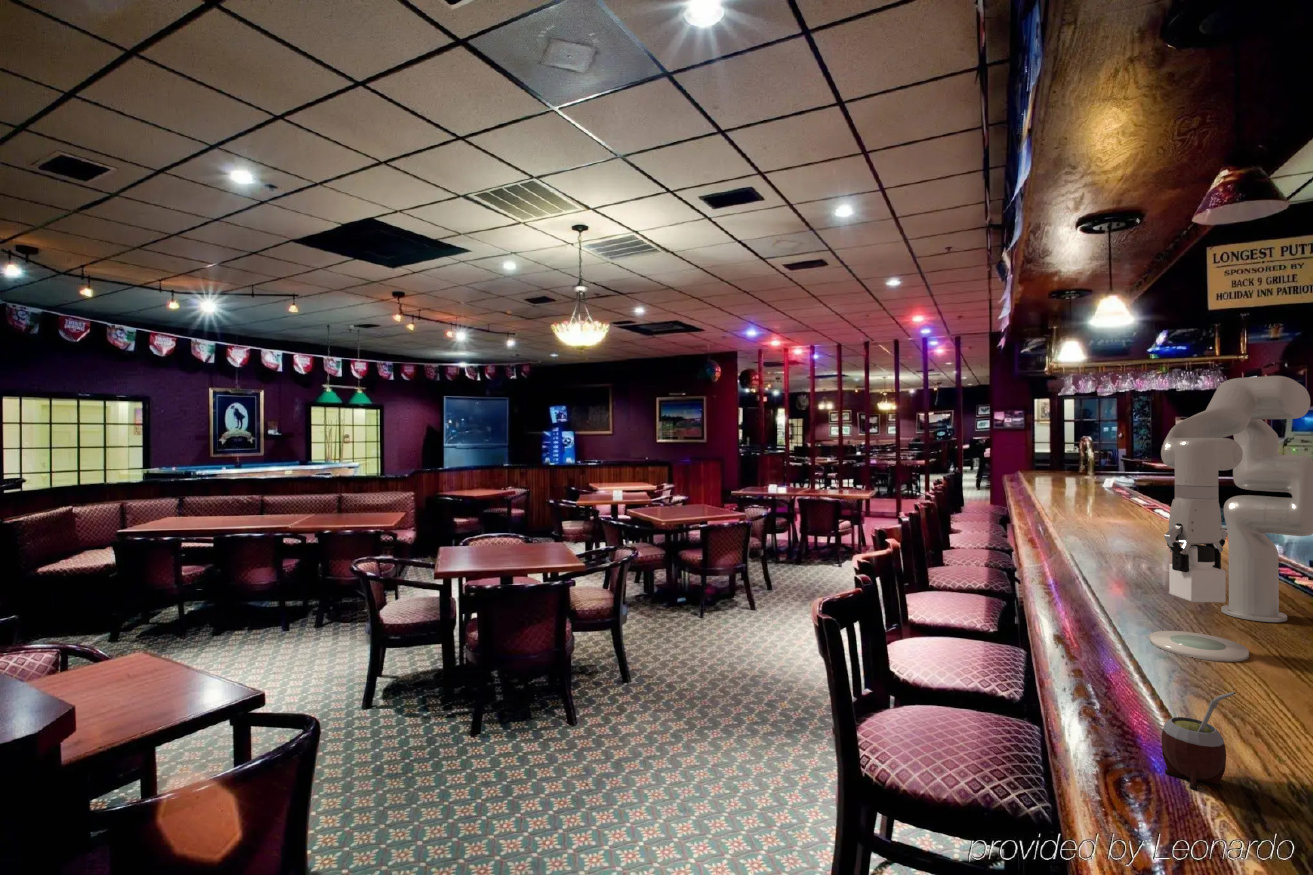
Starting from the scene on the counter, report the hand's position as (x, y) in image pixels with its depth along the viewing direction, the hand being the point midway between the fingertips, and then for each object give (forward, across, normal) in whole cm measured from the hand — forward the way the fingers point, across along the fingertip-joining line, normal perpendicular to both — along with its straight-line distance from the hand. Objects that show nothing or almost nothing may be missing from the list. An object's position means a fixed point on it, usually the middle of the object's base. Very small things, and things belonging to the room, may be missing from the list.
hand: (1196, 569), depth 142 cm
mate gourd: (+19, +56, +41) cm, 72 cm away
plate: (+18, 0, 0) cm, 18 cm away
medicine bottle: (+7, 0, 0) cm, 7 cm away
